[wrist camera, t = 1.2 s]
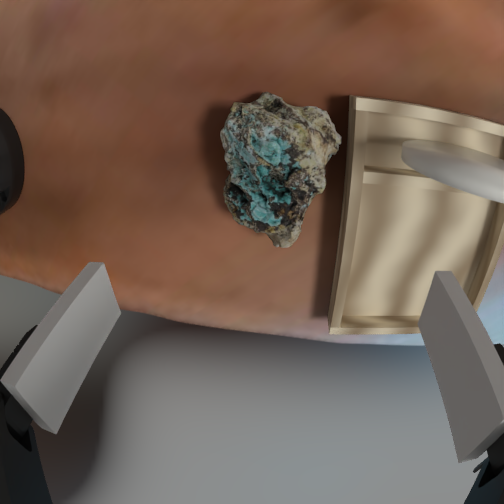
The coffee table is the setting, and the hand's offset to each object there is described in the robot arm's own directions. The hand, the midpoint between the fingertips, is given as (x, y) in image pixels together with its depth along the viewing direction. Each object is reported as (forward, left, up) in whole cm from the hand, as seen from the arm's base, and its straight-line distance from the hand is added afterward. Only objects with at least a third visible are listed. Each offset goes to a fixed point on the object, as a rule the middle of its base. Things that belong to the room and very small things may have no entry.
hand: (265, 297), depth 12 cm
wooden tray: (+15, -6, -19) cm, 24 cm away
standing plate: (+15, +3, -19) cm, 24 cm away
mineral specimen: (0, 0, -19) cm, 19 cm away
